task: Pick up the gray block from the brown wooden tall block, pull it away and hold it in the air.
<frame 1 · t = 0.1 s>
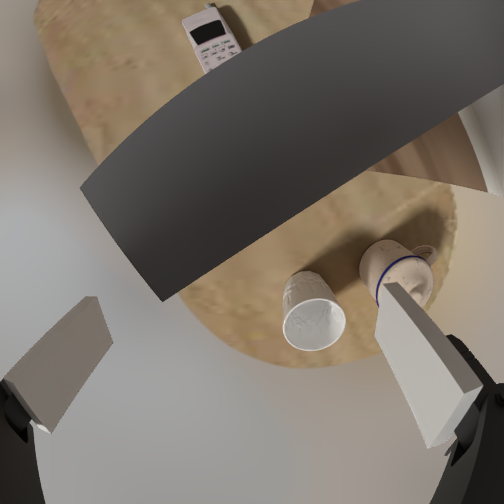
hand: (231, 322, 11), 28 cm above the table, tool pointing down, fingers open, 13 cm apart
gray block: (494, 32, 4), point 30 cm above the table, touching brown wooden tall block
mobile phone: (226, 68, 32), on the table
brown wooden tall block: (338, 114, 33), on the table
teacup with lid: (389, 259, 39), on the table
white cup: (304, 289, 42), on the table
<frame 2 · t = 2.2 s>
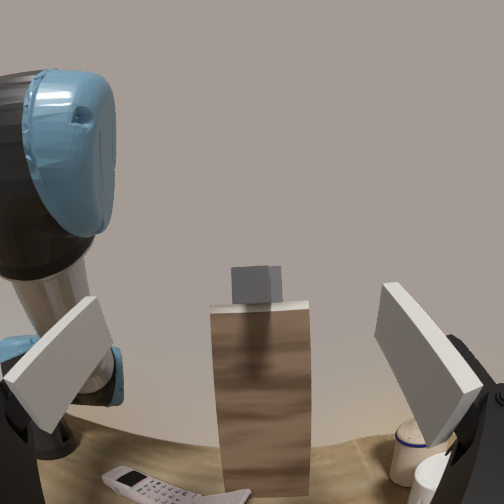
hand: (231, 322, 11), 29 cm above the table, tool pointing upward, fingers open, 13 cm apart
gray block: (260, 303, 37), point 30 cm above the table, touching brown wooden tall block
brown wooden tall block: (268, 480, 32), on the table
teacup with lid: (410, 470, 26), on the table
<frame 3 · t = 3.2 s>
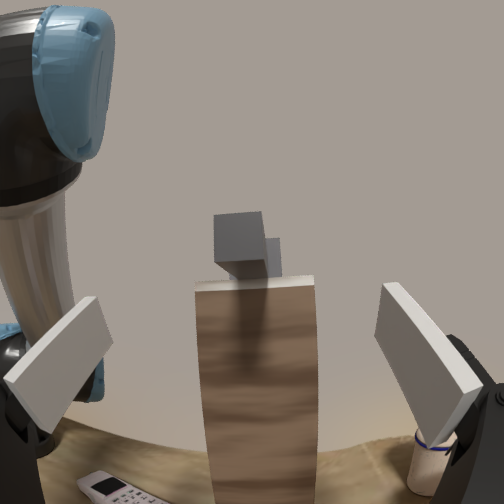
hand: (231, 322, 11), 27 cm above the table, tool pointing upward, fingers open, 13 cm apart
gray block: (256, 282, 32), point 30 cm above the table, touching brown wooden tall block
brown wooden tall block: (266, 491, 26), on the table
teacup with lid: (430, 476, 20), on the table
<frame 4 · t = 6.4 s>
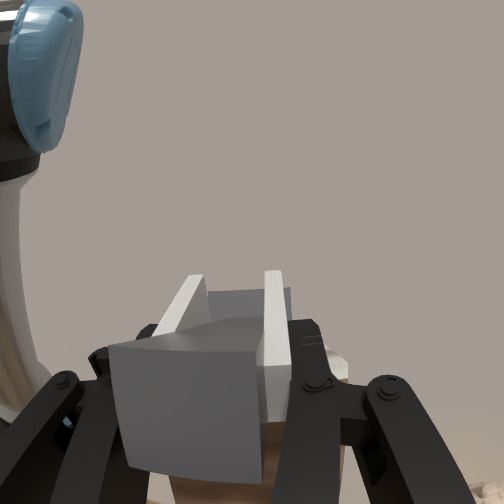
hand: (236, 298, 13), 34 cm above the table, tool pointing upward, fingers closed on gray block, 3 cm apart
gray block: (252, 355, 20), point 30 cm above the table, touching gripper, brown wooden tall block
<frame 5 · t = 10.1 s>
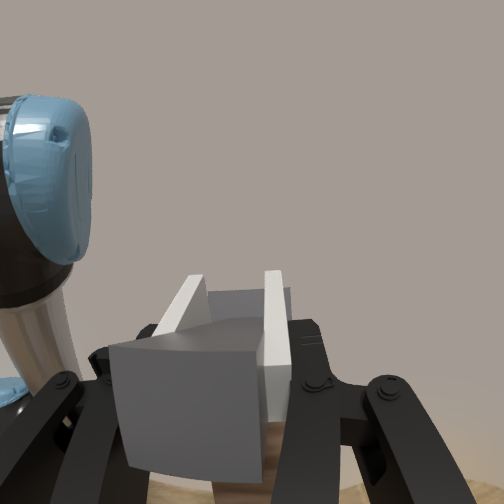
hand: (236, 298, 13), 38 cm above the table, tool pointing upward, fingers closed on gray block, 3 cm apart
gray block: (252, 355, 20), point 34 cm above the table, touching gripper
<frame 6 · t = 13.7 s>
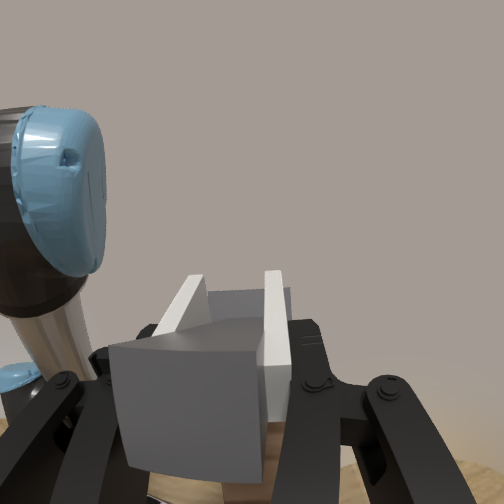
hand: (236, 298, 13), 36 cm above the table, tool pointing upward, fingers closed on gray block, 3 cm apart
gray block: (252, 355, 20), point 31 cm above the table, touching gripper
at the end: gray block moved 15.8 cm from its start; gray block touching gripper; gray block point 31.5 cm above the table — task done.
